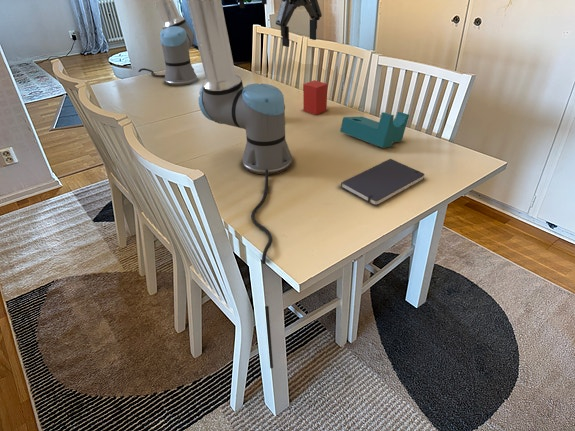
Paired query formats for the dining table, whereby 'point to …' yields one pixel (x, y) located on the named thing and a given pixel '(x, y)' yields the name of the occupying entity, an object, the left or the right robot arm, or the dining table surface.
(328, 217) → the dining table surface
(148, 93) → the dining table surface
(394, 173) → the notebook
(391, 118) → the teal l-shaped bracket
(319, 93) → the block
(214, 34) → the right robot arm
